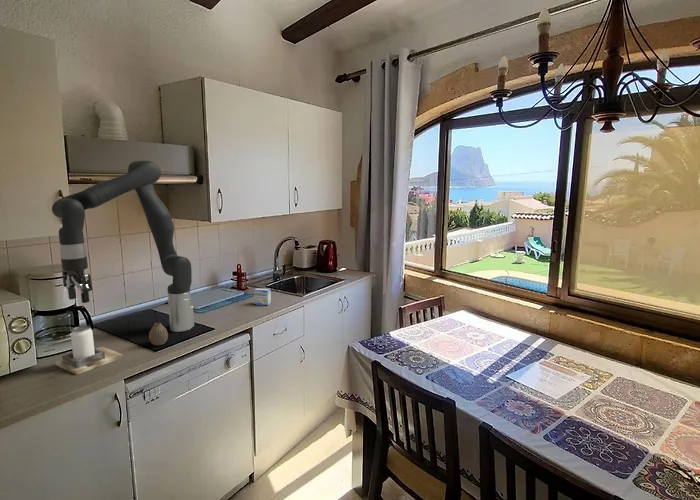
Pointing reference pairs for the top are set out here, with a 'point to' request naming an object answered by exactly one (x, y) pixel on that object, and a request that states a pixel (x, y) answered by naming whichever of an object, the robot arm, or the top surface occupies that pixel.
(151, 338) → the vase
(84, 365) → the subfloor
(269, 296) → the medicine box
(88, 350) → the can
